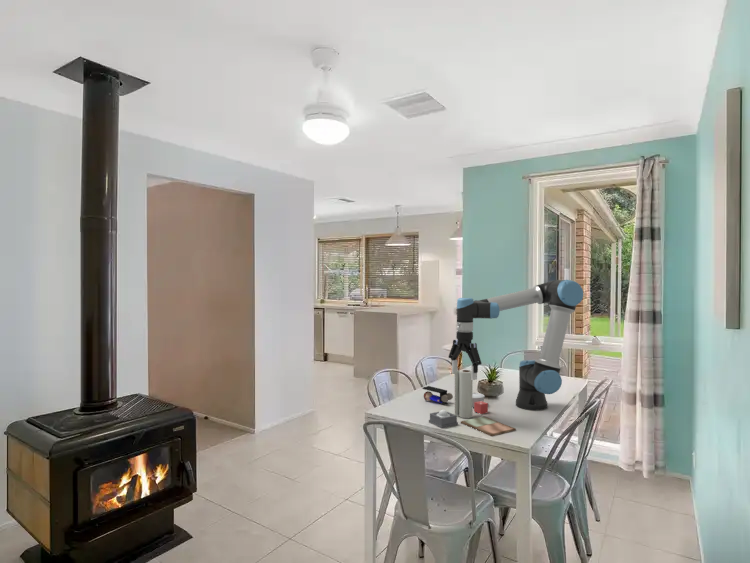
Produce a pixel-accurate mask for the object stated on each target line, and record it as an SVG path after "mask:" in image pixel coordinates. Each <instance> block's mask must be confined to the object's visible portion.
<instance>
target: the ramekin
mask: <svg viewBox="0 0 750 563" xmlns="http://www.w3.org/2000/svg"><path fill="white" fill-rule="evenodd" d="M485 397H486V396H485V395H484V394H483V393H479V392H474V391H472V407H474V402H479V401H482V402H485Z"/></svg>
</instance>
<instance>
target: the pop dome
mask: <svg viewBox="0 0 750 563" xmlns="http://www.w3.org/2000/svg"><path fill="white" fill-rule="evenodd" d="M438 412H439V413H438V414H436V415H437V416H439V417H441V418H443V417H448V416H450V414H448V413H447V412H448V411H447V410H446V409H440V410H439V411H438Z"/></svg>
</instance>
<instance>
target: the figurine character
mask: <svg viewBox="0 0 750 563" xmlns="http://www.w3.org/2000/svg"><path fill="white" fill-rule="evenodd" d="M422 389H423V390H425V392H424V394H423V399H424V400H425V401H426V402H431V401H432V402H436V403H439V404H440V405H444V406H446V405H448V404H449V403H448V401H451V400H452V399H453V398H454V396H453V395H454V394H452V393H451V392H448V390H447V389H442V388H439V387H434V386H430V385H427V386H423V387H422ZM433 392H434V393H439V395H436V394H433Z"/></svg>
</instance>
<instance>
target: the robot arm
mask: <svg viewBox="0 0 750 563" xmlns="http://www.w3.org/2000/svg"><path fill="white" fill-rule="evenodd" d="M583 298H584V290H583V288H582V286H581V285H580V284H579V283H578V282H577V281H576V280H570V279H553V280H549V281H546V282H544V283H539V284H535V285H534V286H533V287H532V288H528V289H523V290H519V291H515V292H510V293H505V294H501V295H496V296H493V297H492V296H491V297H489V298H484V299H483V298H482V299H479V300H477V299H476V300H474V299H473V297H459V298H457V301H456V334H455V335H456V338H455V339H453V340H452V345H451V349H450V350H449V354H448V357H447V358H448V359H450V360H451V374H452V375H455V371H458V365H459V364H458V361H459V360H458V358H459V356H460V354H462V352H465V353H466V354H467V356H468V358H469V360H470V362H471V367H470V368H471V370H470V371H471V380H473V381H475V380H477V379H478V372H479V369H478V368H479V365H482V360H481V357H480V354H479V349H478V344H477V343H476V342H474V343H472V340H474V332H473V331H474V319H490V320H491V319H492V320H493V319H498V318H499V316H500V312H503V311H508V310H511V309H516V308H519V307H524V306H529V305H534V304H539V305H544V304H548V306H549V308H550V314H549V318H548V322H547V324H546V325H547V326H546V330H545V334H544V338H543V342H542V346H541V350H540V355H539V358H537V359H525V360H520V362H519V364H518V365H519V366H518V370H519V379H518V382H519V383H518V384H519V389H518V393H517V396H516V399H515V406H516V407H518V408H519V409H523V410H529V411H543V410H547V409H548V408H549V406H548V401H547V398H546V395H552V394H555V393H557V392H558V391H559V390H560V389H561V387H562V383H563V378H562V376H561V375H560V373H561V368H562V367H561V366H560V364H559V361H560V357H561V353H562V350H563V347H564V346H563V345H564V341H565V337H566V334H567V329H568V326H569V322H570V318H571V314H572V313H573V314H574V312H576V308H577V306H578V305H579V304H580V303H581V302H582V300H583Z"/></svg>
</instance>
